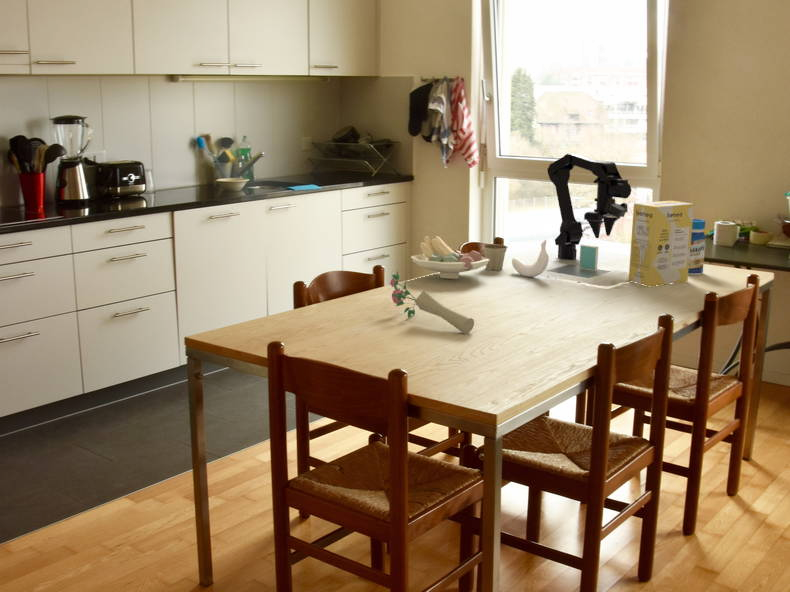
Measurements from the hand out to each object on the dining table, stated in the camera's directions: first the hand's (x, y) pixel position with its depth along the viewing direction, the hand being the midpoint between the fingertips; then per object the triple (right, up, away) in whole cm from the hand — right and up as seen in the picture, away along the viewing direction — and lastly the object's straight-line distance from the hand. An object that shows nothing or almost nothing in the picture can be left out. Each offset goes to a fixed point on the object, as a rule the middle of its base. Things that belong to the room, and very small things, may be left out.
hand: (602, 236), depth 334 cm
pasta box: (+15, -17, -19) cm, 30 cm away
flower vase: (-70, -30, -74) cm, 106 cm away
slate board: (-11, -14, -6) cm, 19 cm away
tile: (-6, -12, -4) cm, 14 cm away
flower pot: (-41, -12, +1) cm, 43 cm away
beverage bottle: (+32, -14, -5) cm, 35 cm away
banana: (-30, -15, -12) cm, 36 cm away
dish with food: (-59, -16, -15) cm, 63 cm away
